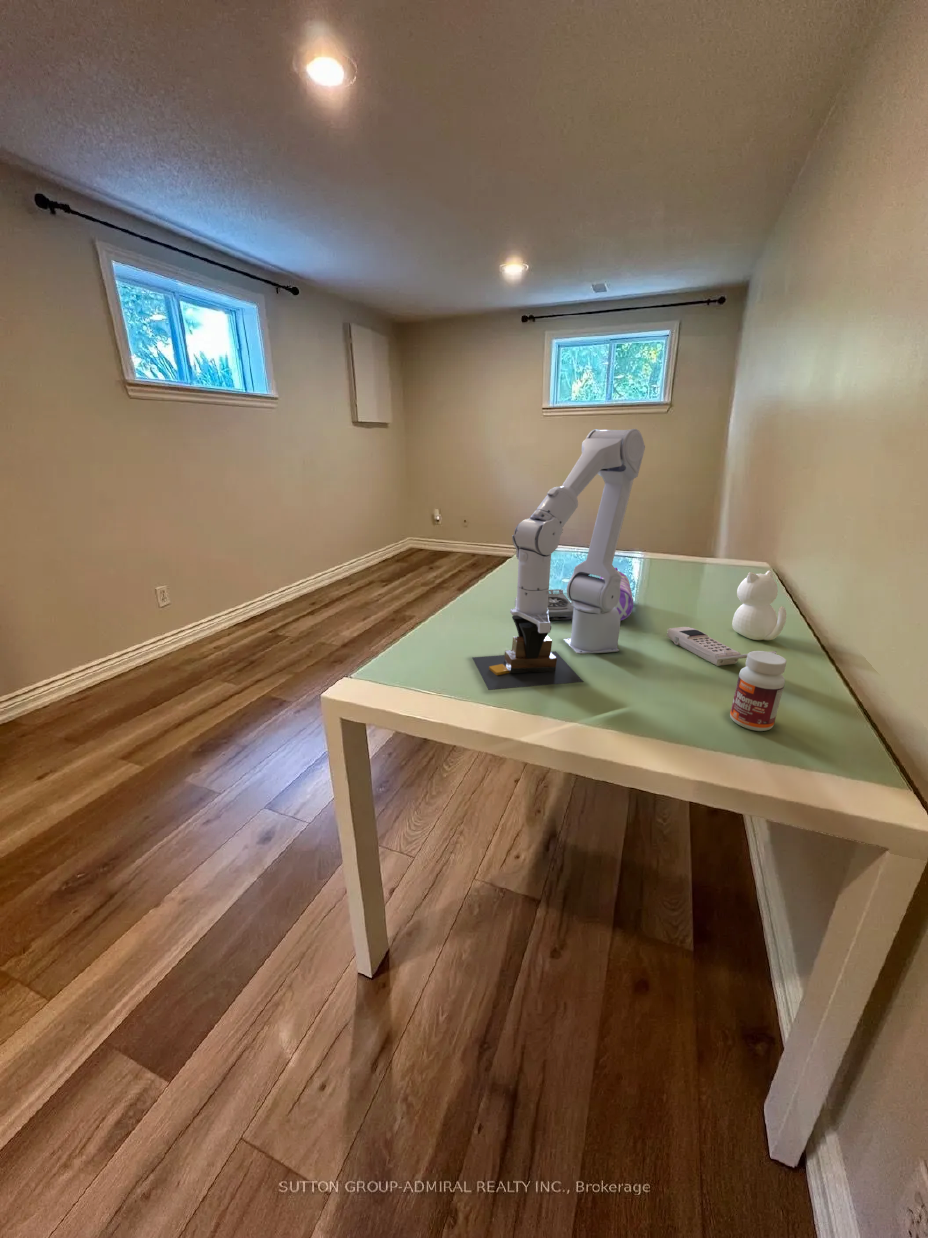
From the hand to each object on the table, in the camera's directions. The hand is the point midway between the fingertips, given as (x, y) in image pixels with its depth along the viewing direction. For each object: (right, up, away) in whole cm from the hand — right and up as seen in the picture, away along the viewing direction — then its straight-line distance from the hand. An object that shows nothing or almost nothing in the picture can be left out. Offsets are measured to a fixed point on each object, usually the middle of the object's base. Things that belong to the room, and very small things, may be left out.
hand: (529, 654), depth 94 cm
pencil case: (+27, +9, +36) cm, 46 cm away
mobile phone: (+39, -1, +9) cm, 40 cm away
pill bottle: (+33, -10, -15) cm, 38 cm away
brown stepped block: (0, -2, +1) cm, 3 cm away
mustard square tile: (-6, -3, 0) cm, 6 cm away
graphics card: (+10, +9, +35) cm, 37 cm away
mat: (-1, -3, +1) cm, 3 cm away
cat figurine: (+55, +3, +19) cm, 58 cm away
